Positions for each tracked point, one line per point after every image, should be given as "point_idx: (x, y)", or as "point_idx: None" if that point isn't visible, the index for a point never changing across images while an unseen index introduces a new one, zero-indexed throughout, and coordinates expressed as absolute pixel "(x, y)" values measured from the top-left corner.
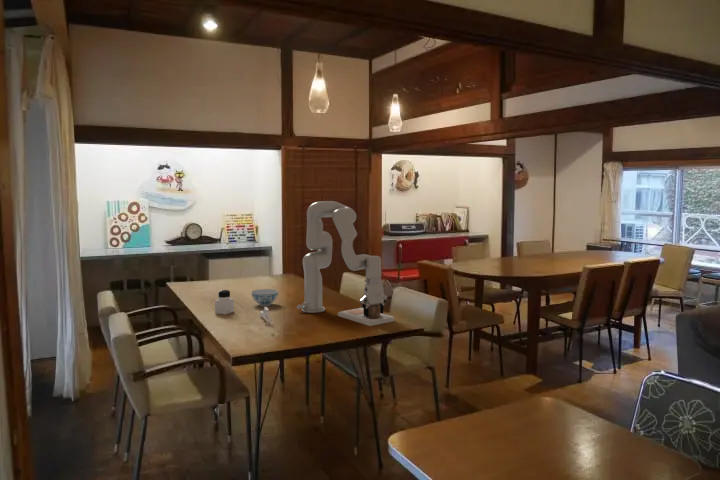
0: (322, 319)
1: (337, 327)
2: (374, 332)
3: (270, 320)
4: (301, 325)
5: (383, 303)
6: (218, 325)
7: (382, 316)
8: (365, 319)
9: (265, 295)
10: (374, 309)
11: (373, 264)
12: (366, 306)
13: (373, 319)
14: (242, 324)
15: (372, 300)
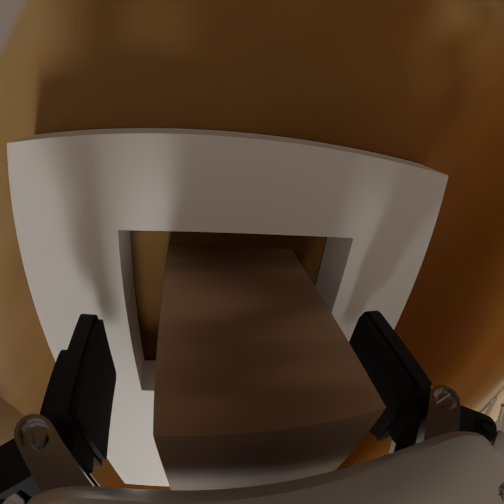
0: None
1: (499, 292)
2: (500, 31)
3: (501, 406)
4: (487, 377)
5: (34, 450)
6: (497, 416)
7: (120, 273)
8: (389, 287)
9: None
10: (320, 367)
11: None
12: (456, 409)
13: (341, 231)
14: (489, 415)
15: (472, 502)
